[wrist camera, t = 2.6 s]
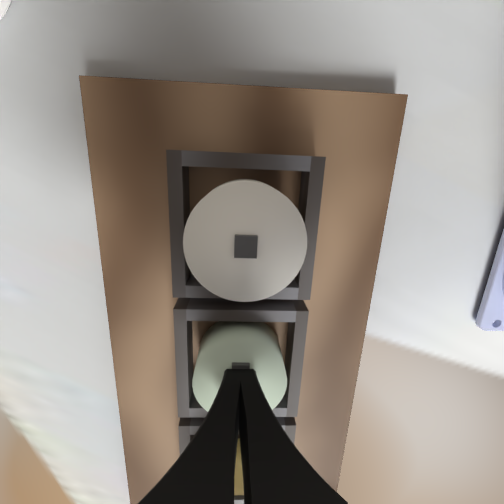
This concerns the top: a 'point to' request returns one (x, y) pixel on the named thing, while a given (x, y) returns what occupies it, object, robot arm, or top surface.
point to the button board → (183, 281)
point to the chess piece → (4, 7)
